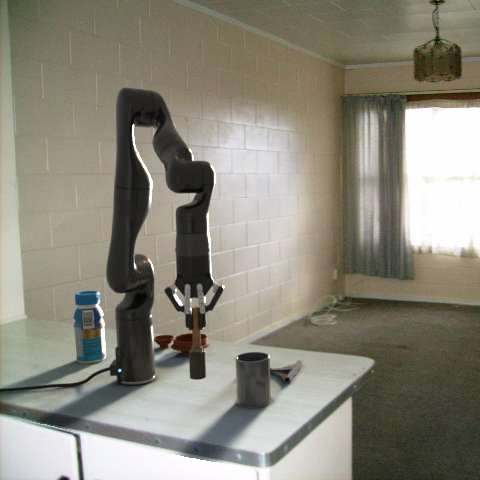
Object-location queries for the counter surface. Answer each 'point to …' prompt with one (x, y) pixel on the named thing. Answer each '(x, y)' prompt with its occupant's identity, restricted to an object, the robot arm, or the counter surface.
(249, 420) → the counter surface
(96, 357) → the beverage bottle
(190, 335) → the pottery
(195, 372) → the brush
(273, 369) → the bracket
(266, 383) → the grey metal cup
